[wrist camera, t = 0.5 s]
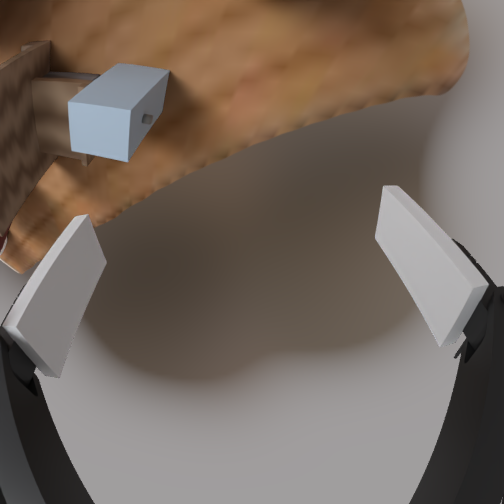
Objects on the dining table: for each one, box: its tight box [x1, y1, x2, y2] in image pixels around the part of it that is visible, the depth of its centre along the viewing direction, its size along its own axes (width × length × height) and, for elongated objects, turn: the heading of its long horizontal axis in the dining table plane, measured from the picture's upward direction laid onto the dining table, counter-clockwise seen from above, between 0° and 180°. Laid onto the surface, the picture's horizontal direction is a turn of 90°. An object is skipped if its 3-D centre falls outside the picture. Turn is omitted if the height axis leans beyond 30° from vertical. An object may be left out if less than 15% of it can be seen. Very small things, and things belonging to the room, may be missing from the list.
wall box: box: [68, 63, 170, 162], centre depth 31 cm, size 9×7×13 cm
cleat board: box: [0, 41, 100, 237], centre depth 30 cm, size 24×16×20 cm, turn 162°
